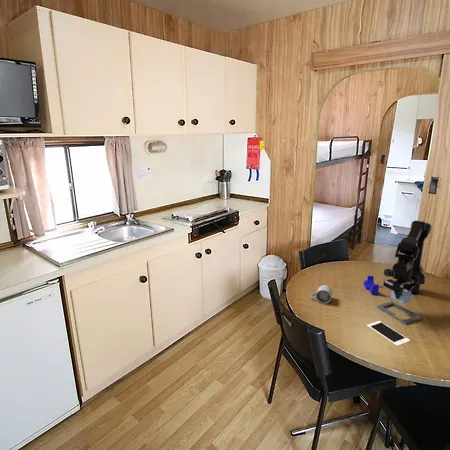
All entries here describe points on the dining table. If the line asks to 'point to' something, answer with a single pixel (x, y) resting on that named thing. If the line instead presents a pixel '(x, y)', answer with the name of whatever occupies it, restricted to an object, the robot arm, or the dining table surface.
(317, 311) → the dining table surface
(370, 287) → the cable clip
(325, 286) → the ceramic mug
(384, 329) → the cell phone
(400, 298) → the servo block
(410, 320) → the plate
